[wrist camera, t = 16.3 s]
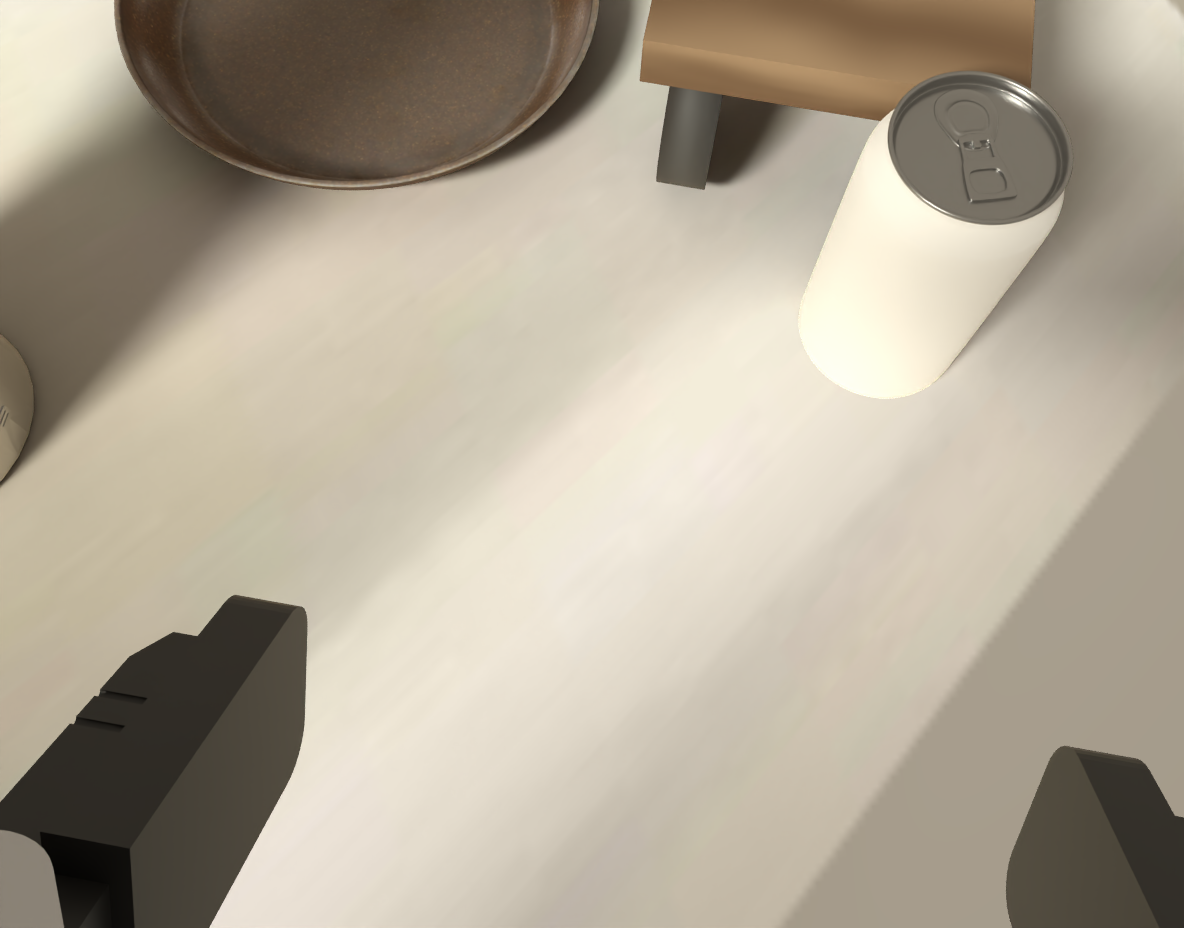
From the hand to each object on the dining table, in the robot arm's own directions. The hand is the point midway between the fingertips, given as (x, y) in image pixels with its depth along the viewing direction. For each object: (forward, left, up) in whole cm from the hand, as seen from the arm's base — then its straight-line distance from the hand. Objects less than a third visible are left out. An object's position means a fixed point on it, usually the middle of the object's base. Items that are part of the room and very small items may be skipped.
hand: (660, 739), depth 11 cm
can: (0, +22, -27) cm, 35 cm away
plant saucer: (-26, +24, -27) cm, 45 cm away
